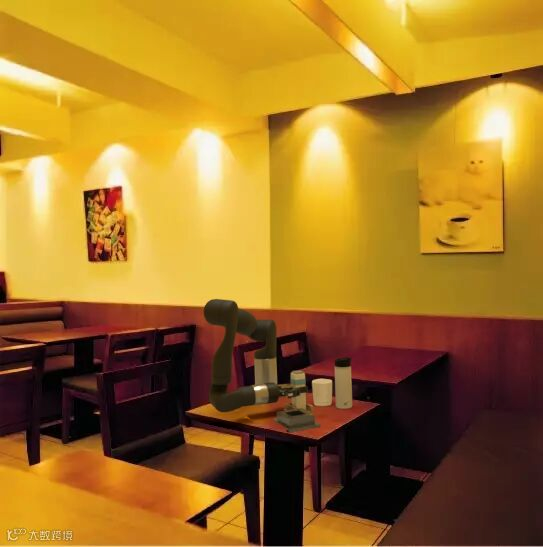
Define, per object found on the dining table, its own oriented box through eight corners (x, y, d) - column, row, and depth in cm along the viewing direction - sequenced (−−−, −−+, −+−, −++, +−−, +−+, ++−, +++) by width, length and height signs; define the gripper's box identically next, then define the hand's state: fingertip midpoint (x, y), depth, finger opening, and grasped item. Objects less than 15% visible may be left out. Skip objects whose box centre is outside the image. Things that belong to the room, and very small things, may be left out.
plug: (291, 409, 211) (290, 371, 211) (301, 407, 213) (300, 370, 213) (296, 412, 208) (295, 373, 207) (306, 410, 209) (305, 371, 209)
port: (271, 422, 199) (271, 411, 199) (301, 417, 204) (301, 406, 204) (289, 432, 186) (288, 420, 186) (320, 427, 191) (320, 415, 191)
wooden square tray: (283, 411, 213) (283, 403, 212) (304, 408, 216) (303, 400, 216) (293, 417, 204) (293, 409, 204) (315, 413, 208) (314, 405, 208)
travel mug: (349, 412, 208) (347, 359, 208) (333, 410, 212) (331, 358, 211) (355, 408, 214) (354, 356, 213) (339, 406, 217) (338, 355, 217)
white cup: (332, 403, 222) (332, 378, 221) (333, 409, 214) (332, 383, 213) (313, 403, 222) (312, 379, 222) (312, 409, 214) (311, 383, 214)
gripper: (271, 387, 198) (313, 381, 205) (255, 380, 211) (296, 374, 218) (271, 408, 198) (314, 401, 205) (256, 399, 211) (296, 393, 218)
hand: (304, 387), depth 211 cm, fingers closed on plug, 4 cm apart
